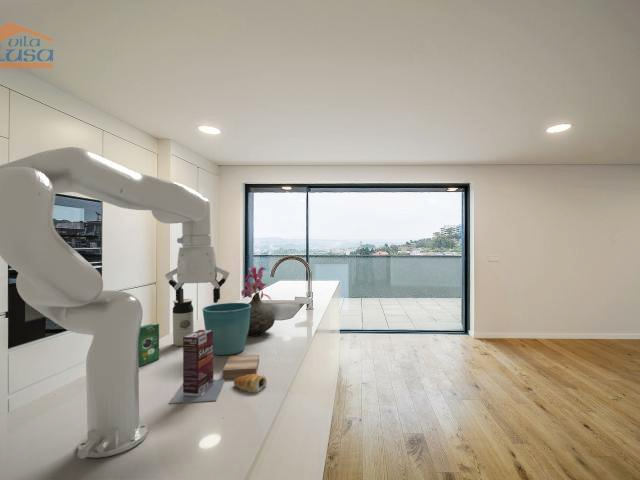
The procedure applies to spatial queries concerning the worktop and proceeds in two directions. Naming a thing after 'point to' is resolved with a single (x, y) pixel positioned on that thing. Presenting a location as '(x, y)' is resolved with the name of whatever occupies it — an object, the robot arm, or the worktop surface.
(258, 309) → the vase
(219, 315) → the flower pot
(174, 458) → the worktop surface
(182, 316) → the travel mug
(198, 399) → the gray card
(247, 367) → the light tan stand
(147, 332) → the coffee box
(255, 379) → the pastry
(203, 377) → the supplement box
